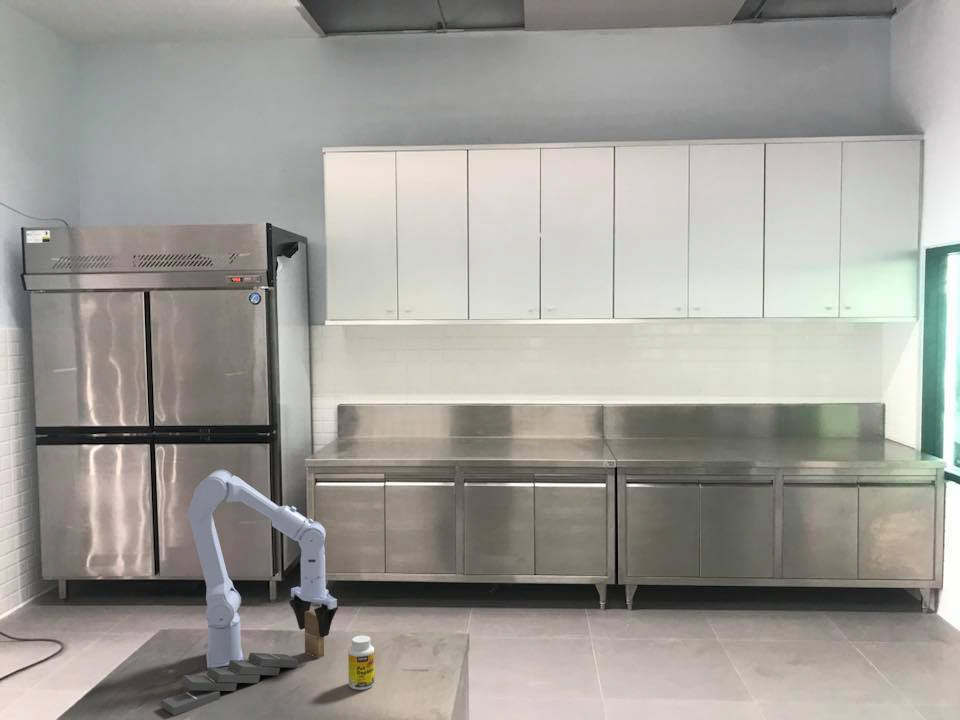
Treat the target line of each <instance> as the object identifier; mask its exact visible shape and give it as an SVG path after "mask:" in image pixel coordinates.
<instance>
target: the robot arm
mask: <svg viewBox="0 0 960 720" xmlns="http://www.w3.org/2000/svg"><path fill="white" fill-rule="evenodd" d="M225 498H226V503H238V502H240V503H243V504H245V505H246V506H249V507H250V508H252V509H254V510H255V511H257V512H258V513H260V514H261V515H264V516H266V517H267V518H268V519H270V522H271V526H272V527H273V528H274V529H276V530H277V531H279V532H280V533H282V534H283V535H285V536H287V537H289V538H290V539H291V540H294V541H295V542H298V546H299V547H300V549H301V553H300V555H301V556H300V586H296V587H292V588H290V597H292V598H293V599H290V600H289V602H288V603H289V605H290V607H291V609H292V610H293V612H294V615H295V618H296V621H297V625H298V629H299V630H301V631H302V630H305V612H306V611H309V610H311V604H312V603H314V604H317V605H320V606H319V607H316V608H314V609H313V611H314V612H315V614H316V616H317V620H318V626H319V635H320V637H324V638H325V637H327V636H329V634H330V629H331V625H332V622H333V619H334V617H335V614H336V612H337V611H338V610H339V605H338V599H337V598H334V597H333V596H332V595H331V594H330V593H329V589H327V588H326V587H327V586H326V585H327V584H326V554H325V553H326V549H325V541H326V540H325V539H326V537H327V535H326V534H327V533H326V529H325V527H324V526H323V525H322V524H321V522H319V521H314V520H313V519H312V518H307V517H305V516H304V515H302V514H301V513H300V512H298V511H297V507H295V506H294V505H292V506H291V507H290V506H289V505H281V506H280V505H278V504H276V503H275V502H273V501H272V500H270V499H269V498H268V497H266V496H265V495H263V494H262V493H261V492H260V491H257V490H256V489H255V488H253V487H252V486H251V485H249V484H248V483H247V482H245V481H244V480H242V478H240V477H239V476H236V475H232V474H231V472H230V471H228V470H224V469H217V470H215V471H213V472H211V473H210V474H209V475H208V476H207V477H205V478H203V480H202V481H201V482H200V483H199V484H198V485H197V487H196V488H195V489H194V494H193V497H192V499H191V502H190V506H189V508H188V510H187V511H188V512H187V516H188V521H189V525H190V529H191V532H192V536H193V539H194V544H195V548H196V550H197V554H198V559H199V563H200V566H201V570H202V574H203V577H204V582H205V586H206V592H205V593H206V594H205V601H206V611H205V618H206V620H207V643H208V645H207V646H208V648H207V651H206V652H205V654H206V655H205V657H206V667H207V669H208V667H215V668H222V667H227V666H228V665H229V662H230V660H242V661H245V660H244V655H243V651H242V645H241V644H242V643H241V642H242V641H241V636H242V635H241V617H240V615H239V613H238V612H237V611H238V610H239V608H240V606H241V604H242V596H241V595H240V593H239V591H238V590H237V589H235V587H234V584H233V583H234V582H233V581H232V580H231V579H230V578H229V575H228V571H227V568H226V564H225V560H224V555H223V552H222V548H221V545H220V540H219V535H218V533H217V528H216V526H215V525H216V524H215V521H214V517H213V513H214V511H215V510H216V509H217V507H218V506H219V504H220V503H221V502H222V501H224V499H225Z"/></svg>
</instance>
